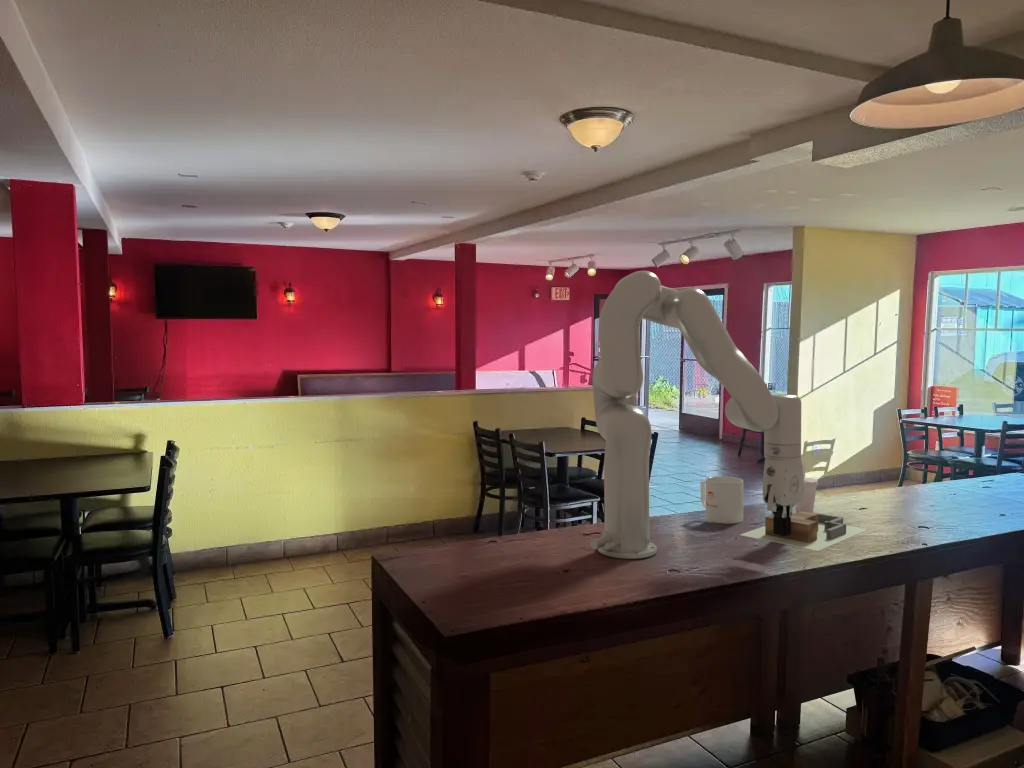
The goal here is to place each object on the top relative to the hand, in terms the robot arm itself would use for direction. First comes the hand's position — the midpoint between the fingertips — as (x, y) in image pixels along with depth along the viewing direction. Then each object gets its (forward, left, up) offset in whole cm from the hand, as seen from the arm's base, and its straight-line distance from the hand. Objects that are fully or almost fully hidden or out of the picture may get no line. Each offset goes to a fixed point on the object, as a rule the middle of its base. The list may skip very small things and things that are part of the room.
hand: (782, 534), depth 155 cm
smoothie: (+29, +9, -3) cm, 30 cm away
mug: (+9, +21, -3) cm, 23 cm away
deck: (+10, 0, -3) cm, 11 cm away
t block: (+8, 0, -1) cm, 8 cm away
